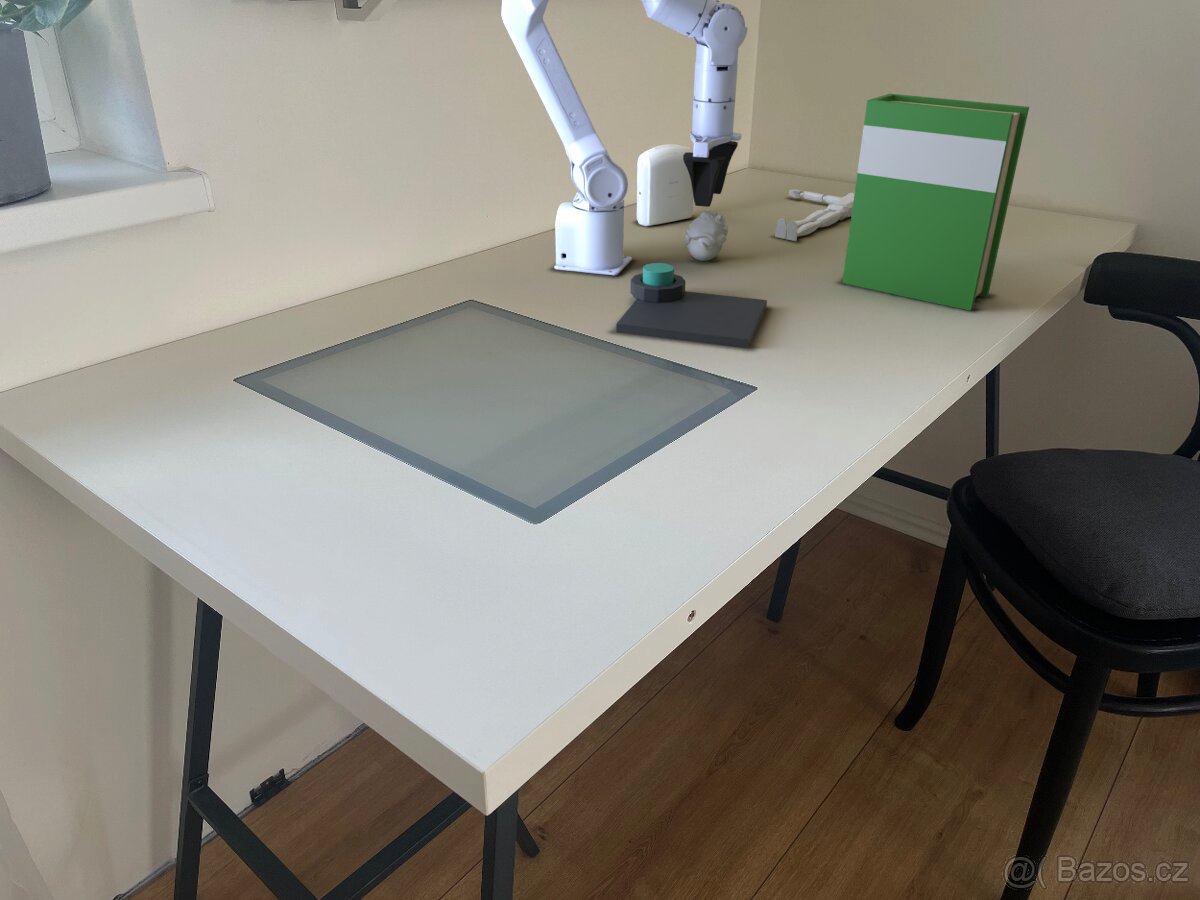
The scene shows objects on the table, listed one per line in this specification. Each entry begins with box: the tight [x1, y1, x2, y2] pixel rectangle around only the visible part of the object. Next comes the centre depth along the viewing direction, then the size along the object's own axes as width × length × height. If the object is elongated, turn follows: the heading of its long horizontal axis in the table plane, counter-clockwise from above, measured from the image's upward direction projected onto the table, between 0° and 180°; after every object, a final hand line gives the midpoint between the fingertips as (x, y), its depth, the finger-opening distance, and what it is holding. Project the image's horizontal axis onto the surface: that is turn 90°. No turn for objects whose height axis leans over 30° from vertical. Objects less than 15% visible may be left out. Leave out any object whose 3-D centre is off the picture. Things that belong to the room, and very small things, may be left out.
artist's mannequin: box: [775, 189, 855, 242], centre depth 156 cm, size 27×4×30 cm
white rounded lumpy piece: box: [683, 210, 729, 262], centre depth 136 cm, size 6×7×7 cm
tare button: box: [642, 262, 675, 286], centre depth 119 cm, size 4×4×2 cm
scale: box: [615, 272, 768, 349], centre depth 116 cm, size 17×16×3 cm
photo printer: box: [636, 143, 694, 227], centre depth 153 cm, size 10×4×12 cm, turn 123°
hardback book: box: [842, 93, 1030, 312], centre depth 120 cm, size 18×7×24 cm, turn 53°
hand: (708, 199), depth 133 cm, fingers open, 7 cm apart
